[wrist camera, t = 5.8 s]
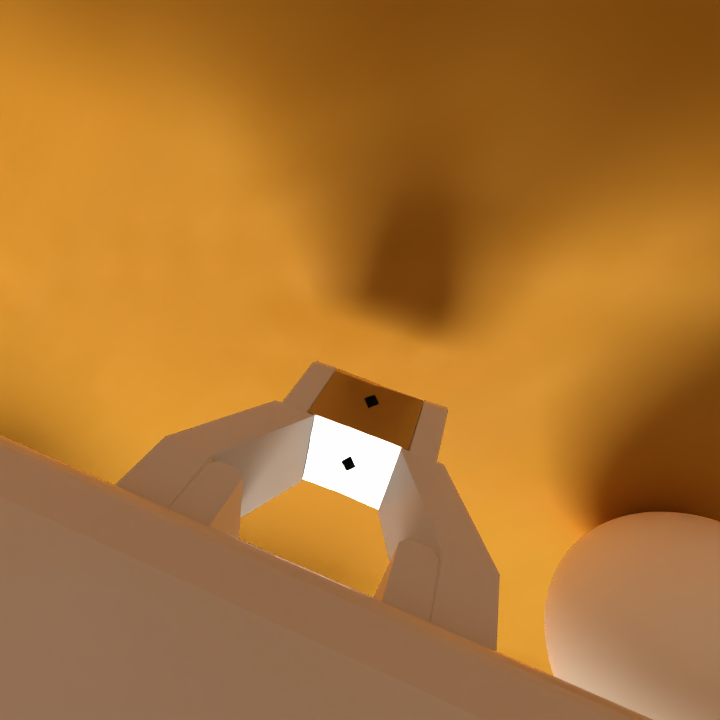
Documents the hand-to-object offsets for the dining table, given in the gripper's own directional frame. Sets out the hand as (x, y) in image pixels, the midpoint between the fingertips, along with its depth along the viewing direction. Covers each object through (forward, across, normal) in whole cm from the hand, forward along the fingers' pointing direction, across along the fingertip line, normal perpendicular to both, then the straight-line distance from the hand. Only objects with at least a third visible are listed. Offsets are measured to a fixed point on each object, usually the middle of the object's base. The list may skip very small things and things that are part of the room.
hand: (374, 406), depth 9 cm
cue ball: (-1, -8, +2) cm, 8 cm away
